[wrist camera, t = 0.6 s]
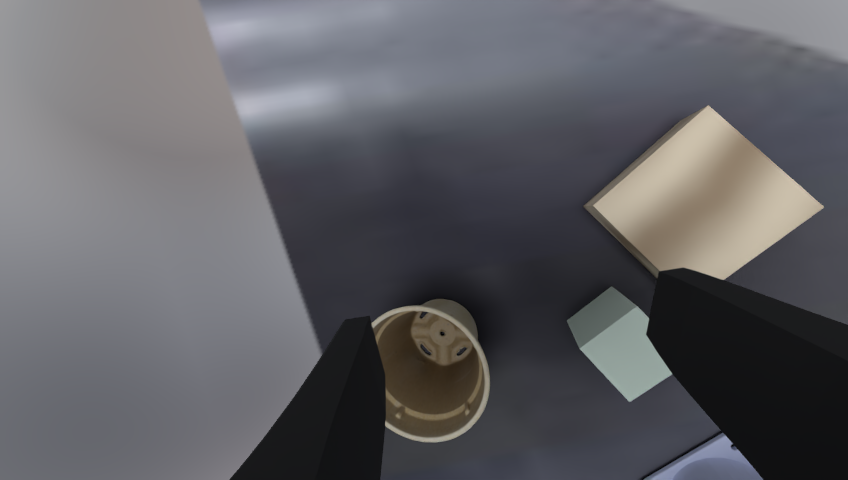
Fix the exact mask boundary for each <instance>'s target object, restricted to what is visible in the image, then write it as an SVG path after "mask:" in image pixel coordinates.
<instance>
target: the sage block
mask: <svg viewBox="0 0 848 480" xmlns="http://www.w3.org/2000/svg"><path fill="white" fill-rule="evenodd" d="M648 322H649V318H648V317H647V316H646V315H645V314H644V313H643V312H642V311H641V309H640V308H639V307H638V306H636V305H635V304H634V303H633V302H631V301H630V300H629V299H627V298H626V297H625V296H624V295H622V294H621V293H620V292H619V291H617V290H616V289H615V288H613V287H612V286H611V287H610V288H609V289H607V290H606V291H605V292H603V293H602V294H601V295H599V296H598V297H597V298H596V299H594V300H593V301H592V302H590V303H589V304H588V305H586V306H585V307H584V308H583V309H581V310H580V311H579V312H577V313H576V314H575V315H573V316H572V317H571V318H570V319H568V320H567V323H568V325H569V327H570V329H571V331H572V334H573V336H574V338H575V340H576V342H577V344H578V347H579V349H580V350H581V351H582V352H583V353H584V354H585V355H586V356H587V357H588V358H589V359H590V360H591V362H592V363H593V364H594V365H595V366H596V367H597V368H598V369H599V370H600V371H601V372H602V373H603V374H604V375H605V377H606V378H607V379H608V380H609V381H610V382H611V383H612V384H613V385H614V386H615V387H616V388H617V389H618V390H619V392H620V393H621V394H622V395H623V396H624V397H625V398H626V399H627V400H628V401H629V402H631V401H632V400H634V399H635V398H637V397H638V396H640V395H641V394H643V393H644V392H646V391H647V390H649V389H650V388H652V387H653V386H655V385H657V384H658V383H660V382H661V381H663V380H664V379H666V378H667V377H669V376H670V375H672V373H671V371H670V370H669V368H668V367H667V366H666V364H665V363H664V361H663V360H662V358H661V357H660V356H659V354H658V353H657V351H656V349H655V348H654V346H653V345H652V343H651V342H650V340H649V338H648V337H647V335H646V332H647V327H648Z"/></svg>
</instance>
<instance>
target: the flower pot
mask: <svg viewBox="0 0 848 480" xmlns="http://www.w3.org/2000/svg"><path fill="white" fill-rule="evenodd" d="M423 311H424V312H428V313H427V314H426V315H425V316H424V317H423V318H420V316H421V314H422V312H423ZM372 327H373V331H374V335H375V338H376V342H377V346H378V349H379V353H380V357H381V360H382V364H383V368H384V371H385V382H386V421H385V426H386V427H388V428H389V429H391V430H392V431H394V432H395V433H397V434H399V435H401V436H404V437H406V438H409V439H412V440H416V441H421V442H441V441H447V440H450V439H453V438H455V437H457V436H459V435H461V434H463V433H465V432H466V431H467V430H469V429H470V428H471V427H472V426H473V425H474V423H476V421H477V420H478V419H479V417H480V416H481V414H482V413H483V411H484V409H485V406H486V404H487V400H488V396H489V391H490V373H489V367H488V363H487V360H486V357H485V354H484V352H483V350H482V348H481V346H480V344H479V342H478V331H477V327H476V324H475V321H474V319H473V317H472V316H471V314H470V313H469V312H468V311H467V310H466V309H465V308H464V307H463V306H462V305H460V304H458V303H457V302H454V301H452V300H446V299H434V300H430V301H428V302H426V303H424V304H422V305H420V306H419V305H414V306H404V307H400V308H396V309H393V310H391V311H388V312H386V313H385V314H383V315H381V316H380V317H379V318H377V319H376V320H375V321H374V322H373V323H372ZM440 332H444V333H445V334H444V335H443V336H442V335H441V334H440ZM421 344H422V345H423V346H424V347H425V348H426V349H427V350H428V351H429V352H431V355H429V354H426V353H425V352H424V351H423V350H422V348H421ZM464 347H466V348H467V349H466V350H465V351H464V352H463V353H462V354H461V355H457V353H458V352H459V351H460V349H462V348H464Z"/></svg>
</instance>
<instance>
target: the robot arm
mask: <svg viewBox="0 0 848 480" xmlns="http://www.w3.org/2000/svg"><path fill="white" fill-rule="evenodd" d="M646 335H647V337H648V338H649V340H650V342H651V343H652V345H653V346H654V348H655V349H656V351H657V353H658V354H659V356H660V357H661V358H662V360H663V361H664V363H665V364H666V366H667V367H668V368H669V370H670V371H671V373H672V374H673V375H674V376H675V377H676V379H677V380H678V381H679V382H680V383H681V385H682V386H683V387H684V388H685V389H686V390H687V392H688V393H689V394H690V395H691V396H692V397H693V399H694V400H695V401H696V402H697V403H698V404H699V406H700V407H701V408H702V409H703V410H704V411H705V412H706V414H707V415H708V416H709V417H710V418H711V419H712V420H713V422H714V423H715V424H716V425H717V426H718V427H719V428H720V430H721V431H722V432H723V433H721V434H720V435H718V436H716V437H715V438H713V439H711V440H709V441H708V442H706V443H704V444H703V445H701V446H699V447H698V448H696V449H694V450H692V451H691V452H689V453H687V454H686V455H684V456H682V457H680V458H679V459H677V460H675V461H674V462H672V463H670V464H669V465H667V466H665V467H663V468H662V469H660V470H658V471H657V472H655V473H653V474H652V475H650V476H648V477H646V478H645V479H643V480H848V325H846V324H843V323H841V322H838V321H835V320H832V319H829V318H826V317H823V316H821V315H818V314H815V313H812V312H809V311H806V310H804V309H801V308H798V307H795V306H793V305H790V304H787V303H784V302H782V301H779V300H776V299H773V298H771V297H768V296H765V295H763V294H760V293H757V292H754V291H752V290H749V289H746V288H743V287H741V286H738V285H735V284H732V283H730V282H727V281H724V280H721V279H718V278H716V277H713V276H710V275H707V274H704V273H701V272H697V271H694V270H691V269H687V268H684V267H683V268H677V269H670V270H664V271H659V273H658V278H657V283H656V288H655V293H654V298H653V303H652V307H651V312H650V317H649V322H648V327H647V332H646ZM385 421H386V382H385V371H384V368H383V364H382V360H381V357H380V353H379V349H378V346H377V342H376V338H375V335H374V331H373V327H372V324H371V320H370V316H366V317H359V318H353V319H346V320H345V321H344V322H343V323H342V325H341V326H340V328H339V329H338V331H337V332H336V334H335V336H334V337H333V339H332V340H331V342H330V344H329V345H328V347H327V348H326V350H325V352H324V353H323V355H322V356H321V358H320V359H319V361H318V363H317V364H316V365H315V367H314V369H313V370H312V371H311V373H310V374H309V376H308V377H307V379H306V380H305V382H304V383H303V385H302V386H301V388H300V389H299V391H298V392H297V394H296V395H295V397H294V398H293V399H292V401H291V402H290V404H289V405H288V406H287V408H286V409H285V410H284V411H283V413H282V414H281V416H280V417H279V418H278V419H277V421H276V422H275V424H274V425H273V426H272V427H271V429H270V430H269V432H268V433H267V434H266V436H265V437H264V438H263V440H262V441H261V442H260V443H259V444H258V446H257V447H256V448H255V449H254V451H253V452H252V453H251V454H250V456H249V457H248V458H247V459H246V461H245V462H244V463H243V464H242V465H241V467H240V468H239V469H238V470H237V472H236V473H235V474H234V475H233V476H232V477H231V479H230V480H380V475H381V465H382V454H383V443H384V432H385ZM732 444H733V445H734V447H731V445H732Z"/></svg>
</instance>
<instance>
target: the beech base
mask: <svg viewBox="0 0 848 480" xmlns="http://www.w3.org/2000/svg"><path fill="white" fill-rule="evenodd" d="M583 207H584V208H585V209H586V210H587V211H588V212H589V213H590V214H591V215H592V216H593V217H594V218H595V219H596V220H598V221H599V222H600V223H601V224H602V225H603V226H604V227H605V228H606V229H607V230H608V231H609V232H610V233H611V234H612V235H613V236H614V237H615V238H616V239H617V240H618V241H619V242H620V243H621V244H622V245H623V246H624V247H625V248H626V249H627V250H628V251H629V252H630V253H631V254H632V255H633V256H634V257H635V258H636V259H637V260H638V261H639V262H640V263H641V264H642V265H643V266H644V267H645V268H646V269H648V270H649V271H650V272H651V273H652V274H653V275H654V276H655V277H656V278H658V273H659V271H664V270H670V269H677V268H683V267H684V268H687V269H691V270H694V271H697V272H701V273H704V274H707V275H710V276H713V277H716V278H718V279H721V280H724V279H726V278H727V277H728V276H730V275H731V274H732V273H734V272H735V271H737V270H738V269H739V268H741V267H742V266H744V265H745V264H746V263H748V262H749V261H750V260H752V259H753V258H755V257H756V256H757V255H759V254H760V253H762V252H763V251H764V250H766V249H767V248H768V247H770V246H771V245H773V244H774V243H775V242H777V241H778V240H780V239H781V238H782V237H784V236H785V235H787V234H788V233H789V232H791V231H792V230H793V229H795V228H796V227H798V226H799V225H800V224H802V223H803V222H805V221H806V220H807V219H809V218H810V217H811V216H813V215H814V214H816V213H817V212H818V211H820V210H821V209H823V208H824V207H823V206H822V205H821V204H820V203H819V202H818V201H817V200H815V199H814V198H813V197H812V196H811V195H810V194H809V193H807V192H806V191H805V190H804V189H803V188H802V187H801V186H800V185H798V184H797V183H796V182H795V181H794V180H793V179H792V178H790V177H789V176H788V175H787V174H786V173H785V172H784V171H782V170H781V169H780V168H779V167H778V166H777V165H776V164H774V163H773V162H772V161H771V160H770V159H769V158H768V157H767V156H765V155H764V154H763V153H762V152H761V151H760V150H759V149H757V148H756V147H755V146H754V145H753V144H752V143H751V142H749V141H748V140H747V139H746V138H745V137H744V136H743V135H741V134H740V133H739V132H738V131H737V130H736V129H735V128H734V127H732V126H731V125H730V124H729V123H728V122H727V121H726V120H724V119H723V118H722V117H721V116H720V115H719V114H718V113H716V112H715V111H714V110H713V109H712V108H711V107H710V106H706V107H704V108H703V109H701V110H699V111H697V112H695V113H693V114H692V115H690V116H688V117H686V118H684V119H682V120H681V121H680V122H679V123H677V124H676V125H675V126H674V127H673V128H672V129H671V130H669V131H668V132H667V133H666V134H665V135H664V136H663V137H662V138H660V139H659V140H658V141H657V142H656V143H655V144H654V145H652V146H651V147H650V148H649V149H648V150H647V151H646V152H644V153H643V154H642V155H641V156H640V157H639V158H638V159H636V160H635V161H634V162H633V163H632V164H631V165H630V166H628V167H627V168H626V169H625V170H624V171H623V172H622V173H620V174H619V175H618V176H617V177H616V178H615V179H614V180H612V181H611V182H610V183H609V184H608V185H607V186H606V187H604V188H603V189H602V190H601V191H600V192H599V193H598V194H596V195H595V196H594V197H593V198H592V199H591V200H590V201H589V202H587V203H586V204H585V205H584V206H583Z"/></svg>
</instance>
